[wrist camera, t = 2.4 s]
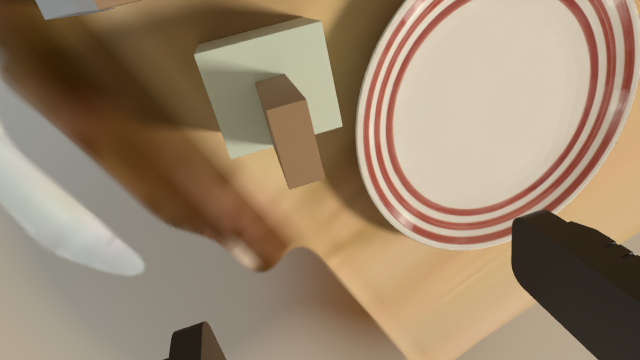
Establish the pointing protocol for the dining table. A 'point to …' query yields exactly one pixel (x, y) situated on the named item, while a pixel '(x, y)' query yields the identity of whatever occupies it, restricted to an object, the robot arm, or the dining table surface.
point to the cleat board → (76, 7)
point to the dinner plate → (492, 111)
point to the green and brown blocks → (273, 93)
